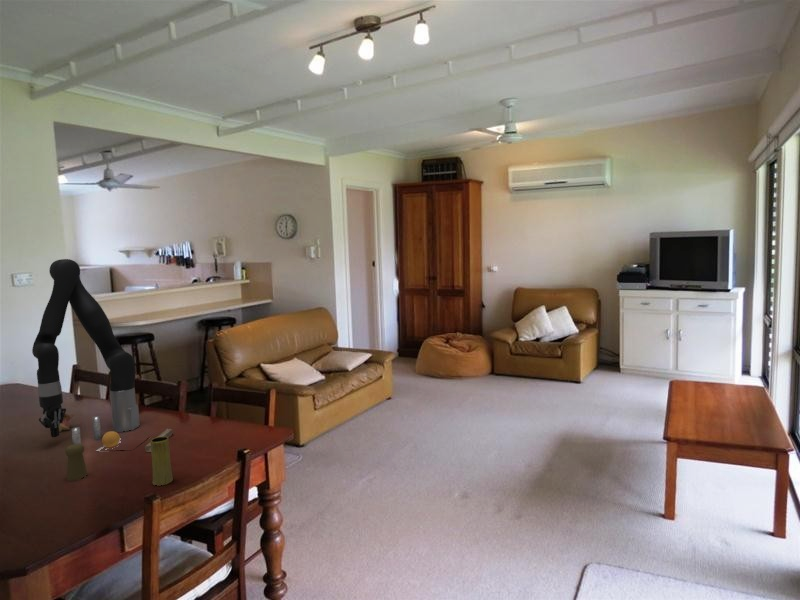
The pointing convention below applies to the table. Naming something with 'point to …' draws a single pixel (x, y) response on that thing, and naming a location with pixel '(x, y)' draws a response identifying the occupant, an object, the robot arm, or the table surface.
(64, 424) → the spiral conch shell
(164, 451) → the vase
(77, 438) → the left post
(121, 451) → the table surface
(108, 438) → the ball
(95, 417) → the right post
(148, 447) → the stopper wall
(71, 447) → the olive green pepper mill
